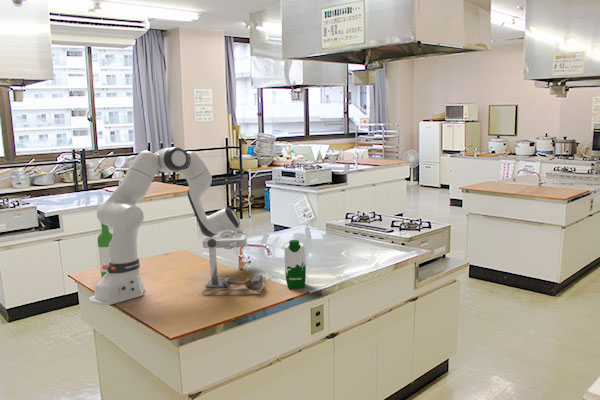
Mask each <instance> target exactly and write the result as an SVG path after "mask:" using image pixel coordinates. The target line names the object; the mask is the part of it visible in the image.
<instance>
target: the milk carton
mask: <svg viewBox="0 0 600 400" xmlns="http://www.w3.org/2000/svg"><path fill="white" fill-rule="evenodd" d="M283 251H284V274H285V281H286V286H287V289H288V288H294V290H295V289H305V287H306V278H307V277H306V275H307V272H306V271H307V268H306V267H307V266H306V254H305V253H306V252H305V251H306V250H305V245H304V243H303V242H300V240H298V239H291V240H289V241H288V242H287V243H286V242H285V243H284V250H283Z"/></svg>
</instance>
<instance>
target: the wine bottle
mask: <svg viewBox="0 0 600 400" xmlns="http://www.w3.org/2000/svg"><path fill="white" fill-rule="evenodd" d="M100 224H101V225H100V226H101V232H100V233H99V235H98V236H97V248H98V257H99V258H98V259H99V260H98V261H99V267H100V276H101V279H102V278H103V276H104V275H105V274H106V273H107V272H108V271H107V270H108V269H107V270H105V269H102V265H103V264H105V265H108V266H109V263H110V254H109V242H110V241H111V239H112V235H113V232H111V231H110V229H109V227H108V226H106V225H104V224H103V223H101V222H100Z"/></svg>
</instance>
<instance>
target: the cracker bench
mask: <svg viewBox="0 0 600 400" xmlns="http://www.w3.org/2000/svg"><path fill="white" fill-rule="evenodd" d="M264 288H265V283H263V275H262V274H254V276H253V278H252V279H251V278H246V279H245V280H242V281H241V280H236V281H234V280H233V281H231V280H230V286H229V287H228V288H206V287H205V288H204V289H203V290H202V292H201V293H202V296H241V295H244V296H246V295H247V296H250V295H249V294H260V295H261V293H262V292H263V290H262V289H264ZM261 291H262V292H261Z"/></svg>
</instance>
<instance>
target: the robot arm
mask: <svg viewBox="0 0 600 400" xmlns="http://www.w3.org/2000/svg"><path fill="white" fill-rule="evenodd" d="M175 172H180V173H181V174H182V176H183V177H184V179H185V181H186V182H187V184H188V190H187V192H186V193H187V198H188V201H189V203H190V206H191V208H192V210H193V214H194V215H195V218H196V220H197V223H198V227H199V228H200V232H201V233H202V235H203V236H204V237H207V238H204V239H203V240H202V242H201V243H202V248H203V249H209V247H208V245H207V242H208V240H209V239H214V240H216V243H217V244H216V249H222V248H223V249H226V250H231V249H235V248H247V246H248V236H247V232H246V231H244V228H243V227H242V225H240V223H241V222H240V218H239V216H238V214H237V213H236V211H235V210H234V209H232V208H230V207H224V208H222V209H219V210H217V211H216V212H214V213H211V214H210V215H208V214H207V215H206V212H205V210H204V207H203V205H202V203H201V198H202V196H203V195H204V194H205V193H206V192H207V191H208V190H209V189H210V187H211V185H212V181H213V177H212V173H211V172H210V170H209V168H208V167H207V165H206V163H204V161H203V160H202V158H201V157H200V156H199V155H198V154H197V153H196V152H195V151H191V150H190V151H185V150H184V149H183V148H180V147H177V146H171V147H164V148H160V149H158V150H156V151H154V152H152V151H149V150H142V151H140V152H139V153H138V154H137V155H136V156H135V158H134V159H133V161H132V162H131V164H130V165H129V166H128V169H127V171H126V173H125V175H124V176H123V178H122V180H121V182H120V184H119V185H118V186H117V188H116V189H115V190H114V192H112V194H111V195H110V196H109V198H108V199H107V200H105V202H103V203H101V204H100V205H99V206H98V208H97V210H96V218H97V220H98V221H99V222H100V224H101V223H103V224H104V225H106V226H108V228H112V234H113V235H112V239H111V241H110V242H109V254H110V263H109V266H108V265H105V264H103V265H102V269H105V270H107V269H108V270H107V271H108V272H107V273H106V274H105V275H104V276H103V278H102V277H101V279H100V280H99V281H97V283H96V284H95V285H94V295H92V296H90V297H89V302H90V303H92V304H94V305H99V306H111V305H115V304H118V303H121V302H124V301H128V300H131V299H135V298H139V297H142V296H144V292H145V291H146V289H145V286H144V284H143V280H142V277H141V271H140V267H141V265H140V259H139V257H138V245H137V244H138V243H137V240H138V233H139V229H140V227H141V225H142V224H143V222H144V218H145V215H144V212H143V210H142V208H140V207H139V206H136V204H137V203H138V202H139V201H140V200H142V199H143V198H144V197H146V195H147V193H148V191H149V188H150V186H151V184H152V182H153V180H154V178H155V176H156V175H157V173H162V174H164V173H168V174H169V173H175ZM219 233H220V234H219ZM218 234H219V236H217V235H218Z"/></svg>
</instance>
